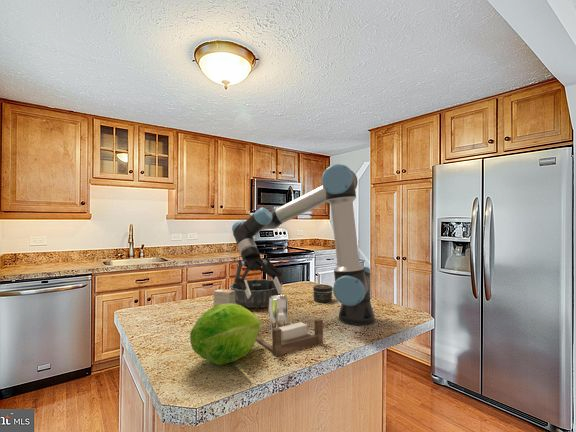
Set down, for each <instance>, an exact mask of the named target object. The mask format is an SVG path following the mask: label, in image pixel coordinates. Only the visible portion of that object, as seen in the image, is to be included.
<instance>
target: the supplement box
mask: <svg viewBox="0 0 576 432" xmlns="http://www.w3.org/2000/svg"><path fill="white" fill-rule="evenodd" d="M230 303H231V304H236V302H235V290H231V289H225V288H218V289H215V290H213V307H214V306H217V305H221V304H230Z"/></svg>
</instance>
